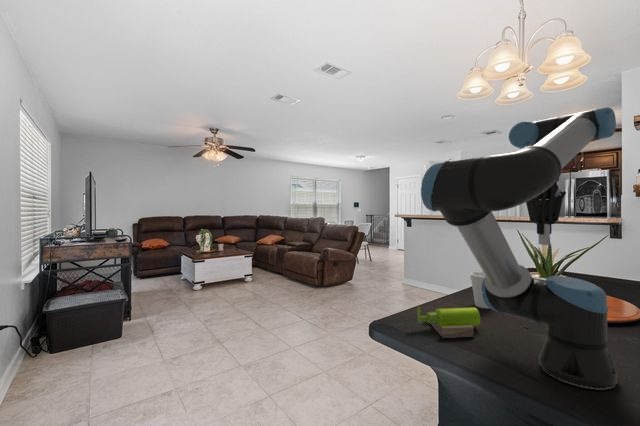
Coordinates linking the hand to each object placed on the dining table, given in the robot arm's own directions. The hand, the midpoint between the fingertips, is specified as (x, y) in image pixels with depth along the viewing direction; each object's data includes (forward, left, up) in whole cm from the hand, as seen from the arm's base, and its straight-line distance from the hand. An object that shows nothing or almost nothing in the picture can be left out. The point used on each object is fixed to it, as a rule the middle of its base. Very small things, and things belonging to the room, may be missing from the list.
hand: (544, 244), depth 97 cm
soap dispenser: (+8, +18, -25) cm, 32 cm away
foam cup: (+27, +5, -29) cm, 40 cm away
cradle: (+7, +28, -29) cm, 41 cm away
